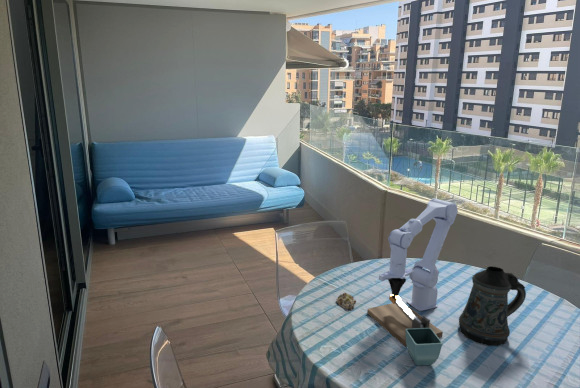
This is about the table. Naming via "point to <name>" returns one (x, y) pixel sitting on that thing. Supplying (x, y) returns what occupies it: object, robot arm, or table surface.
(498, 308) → the beer stein
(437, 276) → the robot arm
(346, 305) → the mineral rock
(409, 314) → the press lever
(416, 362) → the flower pot
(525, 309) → the table surface
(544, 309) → the table surface
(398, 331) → the base
